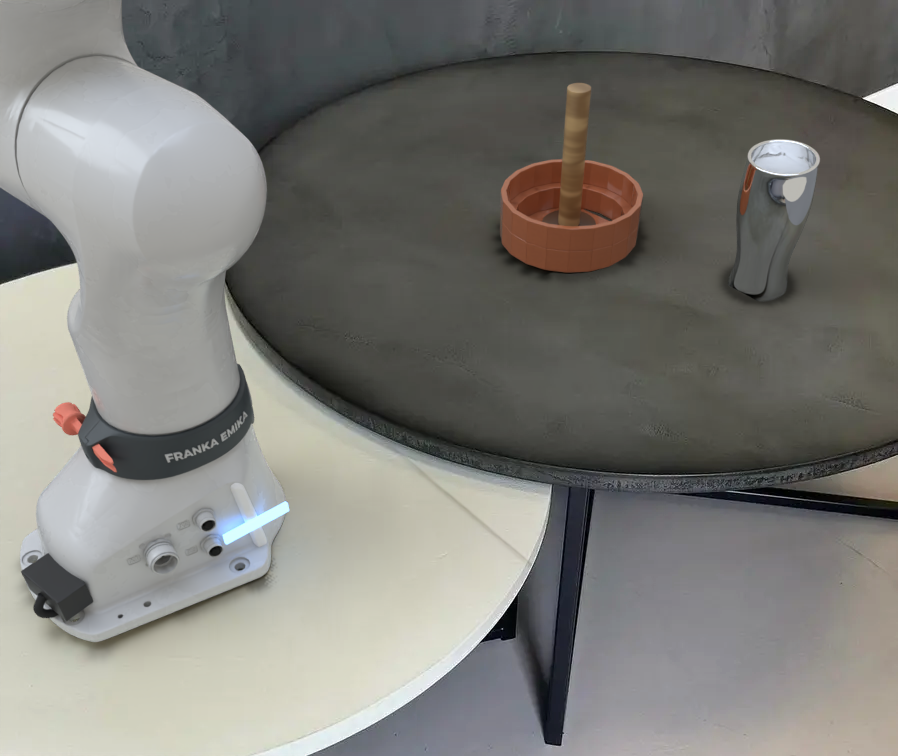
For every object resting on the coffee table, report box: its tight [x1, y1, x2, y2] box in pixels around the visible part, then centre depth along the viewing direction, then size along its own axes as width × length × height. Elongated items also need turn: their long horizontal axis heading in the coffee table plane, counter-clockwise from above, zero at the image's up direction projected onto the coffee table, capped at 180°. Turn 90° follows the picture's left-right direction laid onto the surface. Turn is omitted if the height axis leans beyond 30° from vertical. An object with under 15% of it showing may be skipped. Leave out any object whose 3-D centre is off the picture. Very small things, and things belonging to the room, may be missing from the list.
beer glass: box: [727, 138, 821, 302], centre depth 98 cm, size 7×7×15 cm
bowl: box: [499, 158, 644, 273], centre depth 109 cm, size 15×15×6 cm
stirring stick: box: [542, 82, 596, 226], centre depth 105 cm, size 6×6×16 cm
